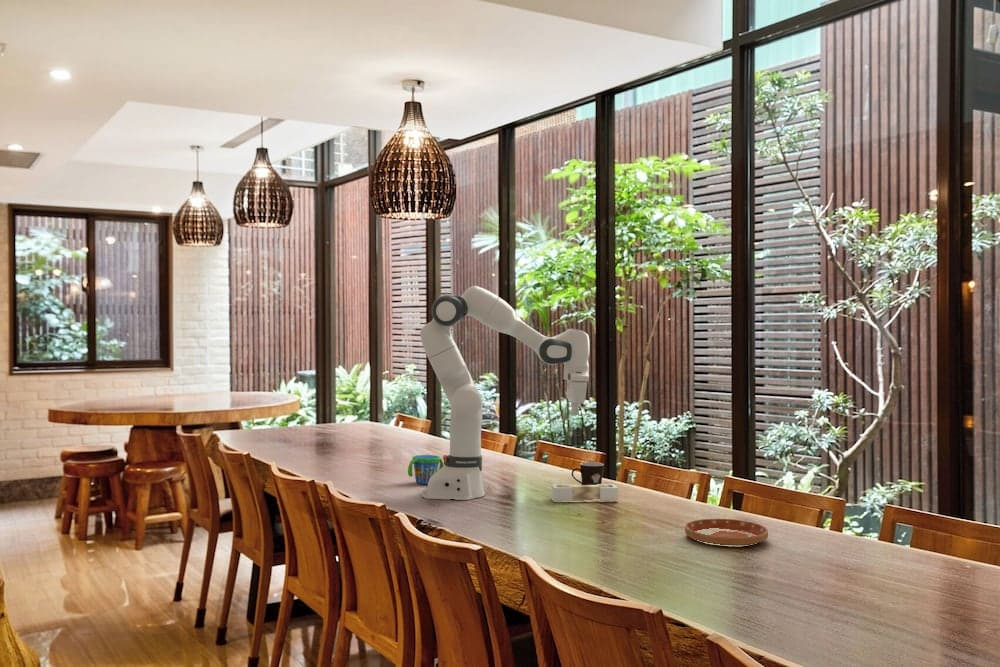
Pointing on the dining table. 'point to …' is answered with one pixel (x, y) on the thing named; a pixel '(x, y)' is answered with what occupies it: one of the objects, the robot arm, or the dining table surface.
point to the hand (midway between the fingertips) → (574, 414)
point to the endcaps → (566, 495)
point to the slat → (585, 491)
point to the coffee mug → (590, 473)
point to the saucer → (725, 536)
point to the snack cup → (424, 467)
